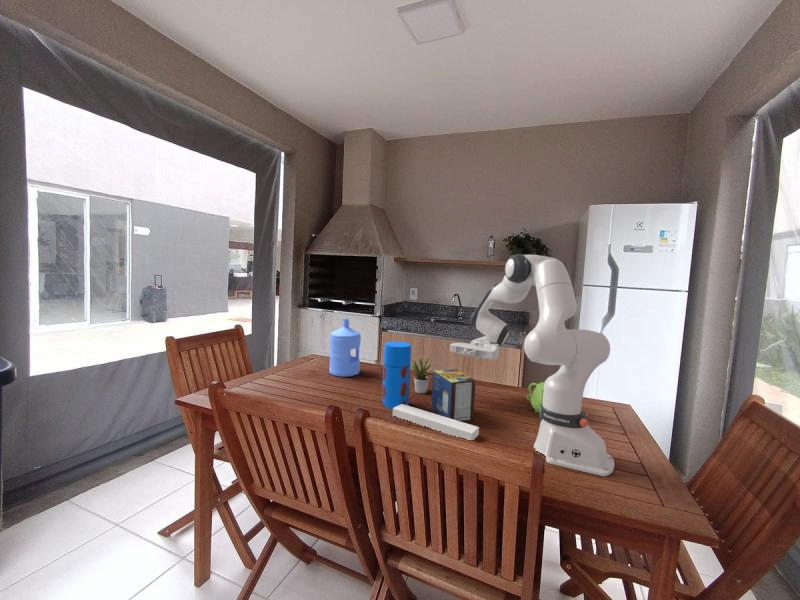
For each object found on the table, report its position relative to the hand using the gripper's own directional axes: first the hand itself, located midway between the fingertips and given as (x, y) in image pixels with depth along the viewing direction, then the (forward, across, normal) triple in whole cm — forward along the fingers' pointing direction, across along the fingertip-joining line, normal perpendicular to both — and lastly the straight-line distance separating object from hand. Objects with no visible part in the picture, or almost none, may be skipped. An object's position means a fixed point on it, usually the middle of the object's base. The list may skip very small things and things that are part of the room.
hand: (466, 353), depth 148 cm
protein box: (+10, 0, +22) cm, 24 cm away
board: (+24, 0, +22) cm, 33 cm away
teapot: (-17, +29, +22) cm, 40 cm away
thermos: (+17, -22, +22) cm, 36 cm away
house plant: (-5, -22, +22) cm, 32 cm away
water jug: (-1, -68, +22) cm, 72 cm away
